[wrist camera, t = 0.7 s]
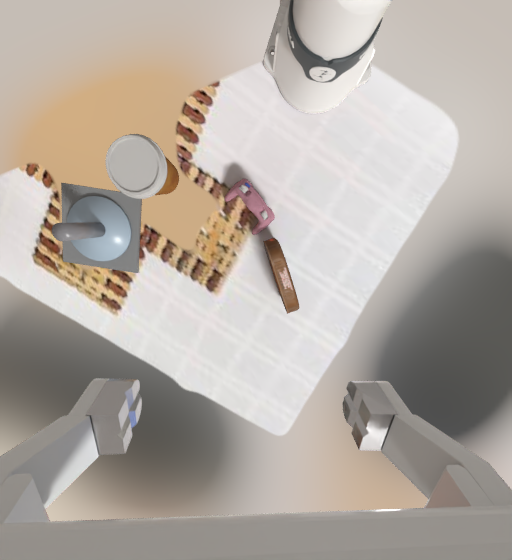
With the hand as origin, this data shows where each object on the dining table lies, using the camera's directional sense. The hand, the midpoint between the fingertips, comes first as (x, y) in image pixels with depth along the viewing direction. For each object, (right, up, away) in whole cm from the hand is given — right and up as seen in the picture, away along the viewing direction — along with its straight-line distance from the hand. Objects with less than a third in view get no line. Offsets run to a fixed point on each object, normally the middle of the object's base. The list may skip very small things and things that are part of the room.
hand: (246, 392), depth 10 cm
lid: (-32, +15, +44) cm, 56 cm away
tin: (+6, +6, +45) cm, 46 cm away
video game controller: (-1, +19, +43) cm, 47 cm away
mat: (-32, +15, +45) cm, 57 cm away
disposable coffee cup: (-18, +25, +42) cm, 52 cm away
